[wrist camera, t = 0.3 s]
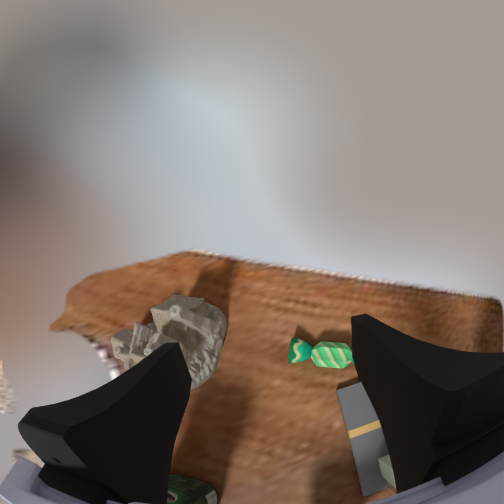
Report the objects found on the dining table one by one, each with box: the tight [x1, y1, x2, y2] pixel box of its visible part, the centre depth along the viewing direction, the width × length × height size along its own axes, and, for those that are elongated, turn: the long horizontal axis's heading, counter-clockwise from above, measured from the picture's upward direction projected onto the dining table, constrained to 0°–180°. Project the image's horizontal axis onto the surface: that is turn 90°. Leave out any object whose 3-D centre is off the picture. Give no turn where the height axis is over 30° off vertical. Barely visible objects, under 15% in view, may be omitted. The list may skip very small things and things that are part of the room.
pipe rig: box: [336, 382, 397, 497], centre depth 28 cm, size 18×12×6 cm, turn 12°
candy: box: [288, 338, 354, 368], centre depth 36 cm, size 12×3×4 cm
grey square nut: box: [378, 455, 396, 488], centre depth 23 cm, size 3×6×7 cm, turn 102°
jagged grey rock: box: [111, 294, 227, 390], centre depth 37 cm, size 16×16×15 cm
